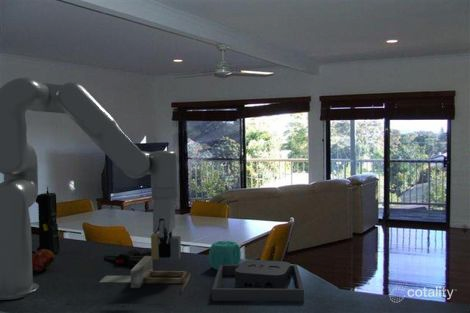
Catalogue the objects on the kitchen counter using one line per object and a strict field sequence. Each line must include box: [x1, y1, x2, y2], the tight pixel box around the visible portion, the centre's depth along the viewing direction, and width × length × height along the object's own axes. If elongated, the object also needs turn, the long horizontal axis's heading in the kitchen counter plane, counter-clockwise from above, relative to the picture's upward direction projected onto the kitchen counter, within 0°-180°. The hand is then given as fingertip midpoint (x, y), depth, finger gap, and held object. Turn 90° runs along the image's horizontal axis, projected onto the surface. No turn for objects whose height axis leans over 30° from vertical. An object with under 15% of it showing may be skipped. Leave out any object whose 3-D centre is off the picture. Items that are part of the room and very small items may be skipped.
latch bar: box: [150, 232, 182, 261], centre depth 138 cm, size 8×4×7 cm, turn 87°
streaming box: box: [234, 259, 292, 289], centre depth 138 cm, size 14×14×5 cm
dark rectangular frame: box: [211, 264, 305, 302], centre depth 135 cm, size 24×24×3 cm
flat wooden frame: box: [98, 256, 191, 294], centre depth 139 cm, size 26×16×6 cm, turn 87°
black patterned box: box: [103, 249, 151, 267], centre depth 160 cm, size 5×20×15 cm
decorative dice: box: [208, 240, 242, 271], centre depth 156 cm, size 8×8×8 cm
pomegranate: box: [32, 249, 56, 273], centre depth 154 cm, size 7×7×10 cm
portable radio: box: [35, 186, 60, 255], centre depth 175 cm, size 8×6×25 cm
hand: (166, 254), depth 139 cm, fingers closed on latch bar, 3 cm apart
